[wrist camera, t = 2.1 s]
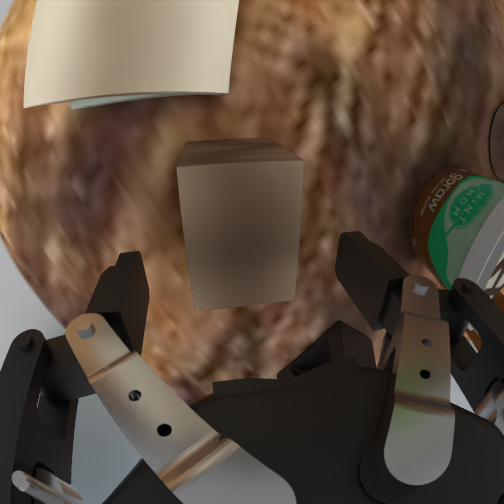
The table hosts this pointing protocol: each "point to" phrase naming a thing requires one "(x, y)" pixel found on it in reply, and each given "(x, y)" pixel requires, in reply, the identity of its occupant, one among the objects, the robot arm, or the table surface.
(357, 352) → the phone stand
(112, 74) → the slab top
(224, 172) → the walnut block
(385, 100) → the table surface
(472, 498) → the robot arm
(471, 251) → the food container
